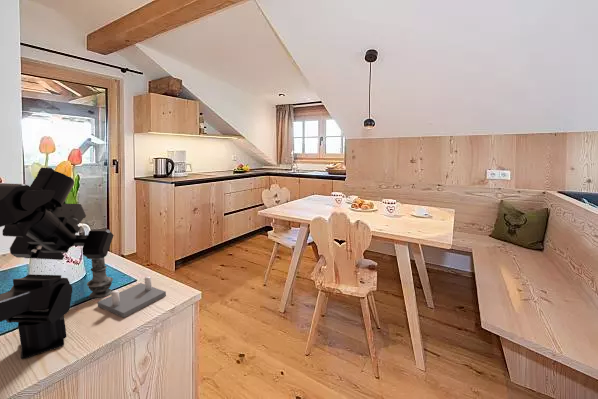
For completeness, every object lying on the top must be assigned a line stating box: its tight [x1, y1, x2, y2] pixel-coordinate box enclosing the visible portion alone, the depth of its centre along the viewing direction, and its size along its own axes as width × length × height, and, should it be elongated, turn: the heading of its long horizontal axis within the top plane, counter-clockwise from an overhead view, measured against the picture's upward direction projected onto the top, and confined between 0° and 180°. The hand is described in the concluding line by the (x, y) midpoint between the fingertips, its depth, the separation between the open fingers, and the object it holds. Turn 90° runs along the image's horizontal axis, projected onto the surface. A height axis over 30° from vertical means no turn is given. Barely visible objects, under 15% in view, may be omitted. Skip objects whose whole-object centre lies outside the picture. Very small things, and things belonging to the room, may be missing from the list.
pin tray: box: [97, 275, 167, 318], centre depth 78 cm, size 12×10×5 cm
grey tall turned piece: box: [86, 257, 114, 300], centre depth 80 cm, size 6×6×12 cm
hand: (82, 258), depth 73 cm, fingers open, 9 cm apart
